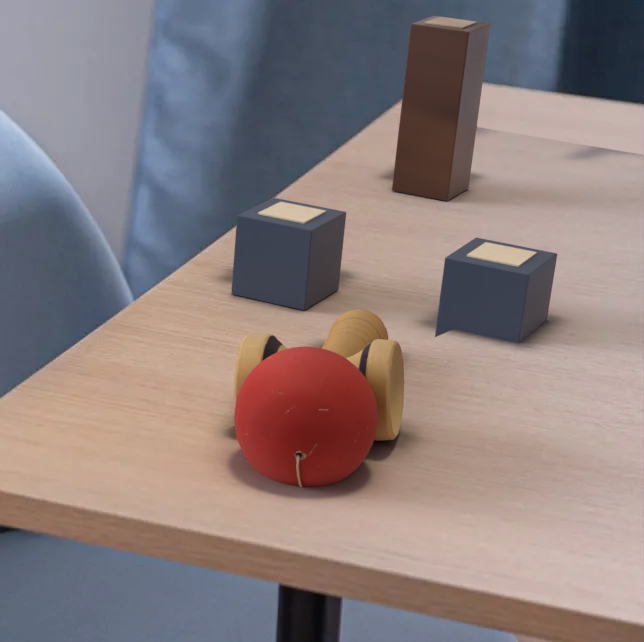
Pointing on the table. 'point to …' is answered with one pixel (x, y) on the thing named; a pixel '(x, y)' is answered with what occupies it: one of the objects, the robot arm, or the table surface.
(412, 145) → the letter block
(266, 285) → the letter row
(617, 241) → the table surface
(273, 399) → the kendama
